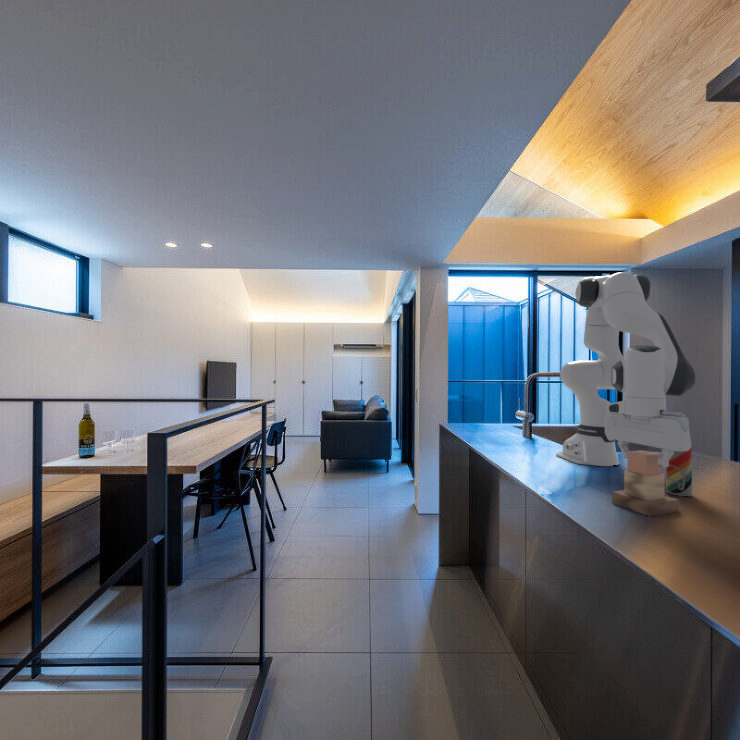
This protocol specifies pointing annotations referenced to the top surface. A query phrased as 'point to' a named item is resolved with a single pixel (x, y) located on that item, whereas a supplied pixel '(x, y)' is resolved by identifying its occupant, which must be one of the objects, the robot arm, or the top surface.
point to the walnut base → (645, 504)
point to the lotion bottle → (680, 473)
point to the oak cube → (644, 485)
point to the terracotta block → (644, 462)
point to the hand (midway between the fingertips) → (644, 462)
